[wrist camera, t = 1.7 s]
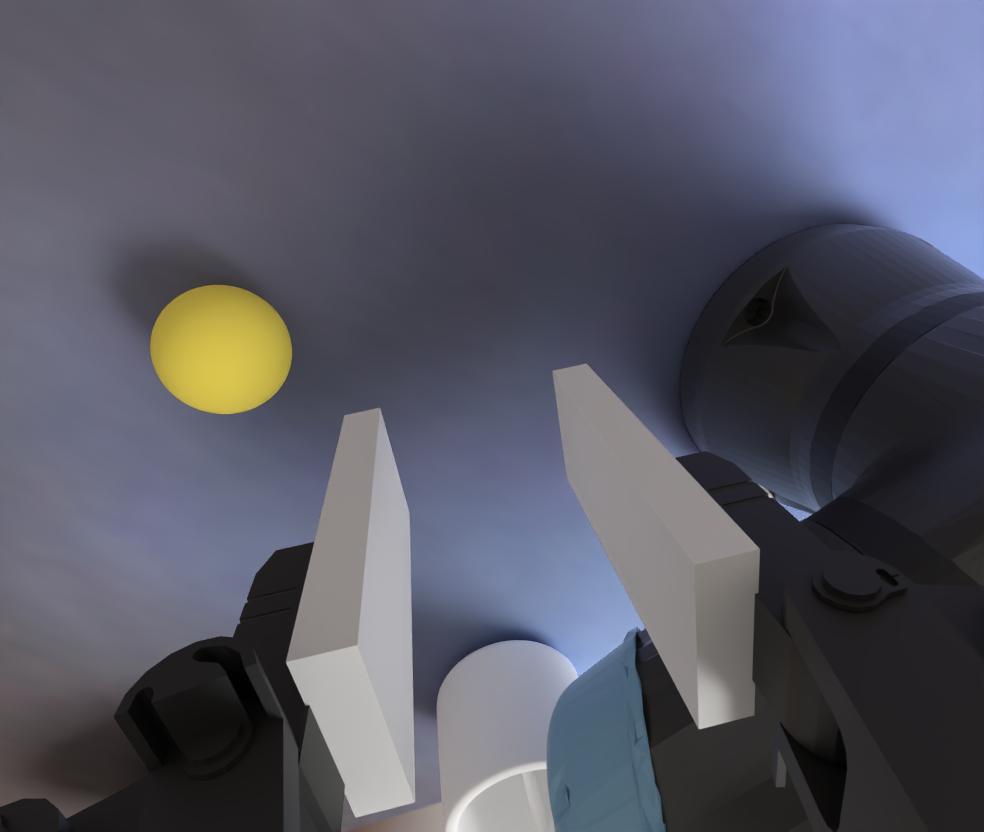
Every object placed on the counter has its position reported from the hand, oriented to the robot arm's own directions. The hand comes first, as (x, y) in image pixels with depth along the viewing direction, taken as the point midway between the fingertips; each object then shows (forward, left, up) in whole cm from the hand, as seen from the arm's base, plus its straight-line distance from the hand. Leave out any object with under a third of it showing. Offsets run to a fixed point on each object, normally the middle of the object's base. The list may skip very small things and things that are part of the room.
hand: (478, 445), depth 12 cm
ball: (+10, 0, -14) cm, 17 cm away
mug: (+1, +28, -17) cm, 33 cm away
